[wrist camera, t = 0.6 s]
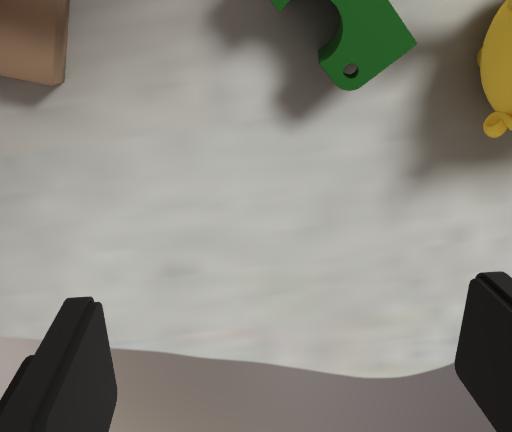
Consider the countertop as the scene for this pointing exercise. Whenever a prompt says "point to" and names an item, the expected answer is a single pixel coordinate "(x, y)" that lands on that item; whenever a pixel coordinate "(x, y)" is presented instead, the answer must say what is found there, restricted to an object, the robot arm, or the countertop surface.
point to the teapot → (498, 71)
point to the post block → (34, 40)
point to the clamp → (362, 41)
